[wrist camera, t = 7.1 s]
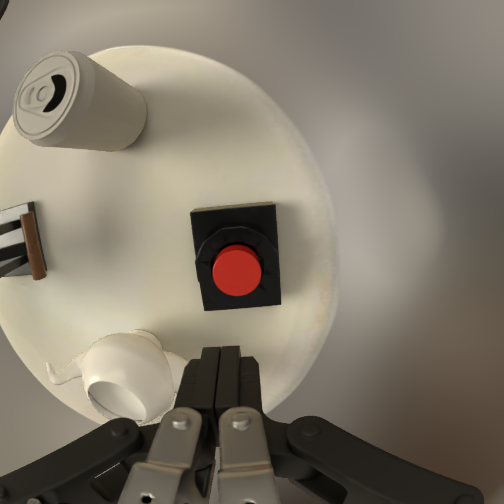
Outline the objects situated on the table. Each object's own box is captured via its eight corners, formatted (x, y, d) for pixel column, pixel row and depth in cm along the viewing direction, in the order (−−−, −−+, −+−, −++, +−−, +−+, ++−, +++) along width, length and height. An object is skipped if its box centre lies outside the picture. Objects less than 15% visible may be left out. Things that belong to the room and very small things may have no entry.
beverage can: (143, 153, 23) (72, 145, 12) (86, 150, 23) (1, 148, 11) (155, 87, 22) (97, 37, 10) (97, 89, 21) (21, 55, 10)
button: (212, 246, 22) (209, 252, 21) (258, 242, 22) (259, 248, 21) (217, 289, 23) (215, 298, 22) (261, 285, 23) (262, 294, 22)
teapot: (62, 300, 27) (17, 341, 18) (233, 317, 28) (230, 378, 19) (79, 366, 30) (48, 412, 21) (231, 387, 31) (229, 448, 22)
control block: (194, 208, 25) (185, 215, 21) (272, 201, 25) (278, 206, 21) (206, 300, 27) (201, 321, 24) (278, 294, 28) (284, 314, 24)
